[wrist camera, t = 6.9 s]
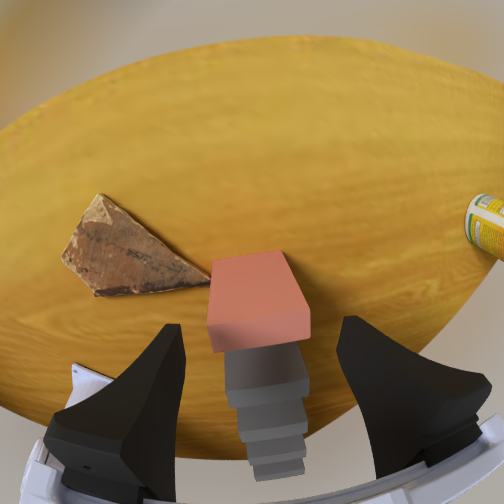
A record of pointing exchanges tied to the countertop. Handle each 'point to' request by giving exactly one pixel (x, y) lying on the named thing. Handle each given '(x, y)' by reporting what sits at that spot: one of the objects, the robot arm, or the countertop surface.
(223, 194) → the countertop surface
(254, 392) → the domino
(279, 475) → the domino
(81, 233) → the shard
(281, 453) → the domino
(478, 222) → the supplement bottle
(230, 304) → the red domino
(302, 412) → the domino
